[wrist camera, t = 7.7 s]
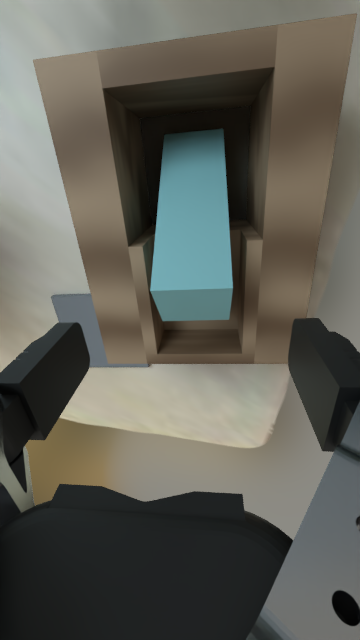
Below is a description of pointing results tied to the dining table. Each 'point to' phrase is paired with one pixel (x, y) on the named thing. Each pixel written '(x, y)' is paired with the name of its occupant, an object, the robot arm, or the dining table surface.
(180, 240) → the teal block
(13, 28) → the dining table surface
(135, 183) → the board
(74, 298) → the grey mat
